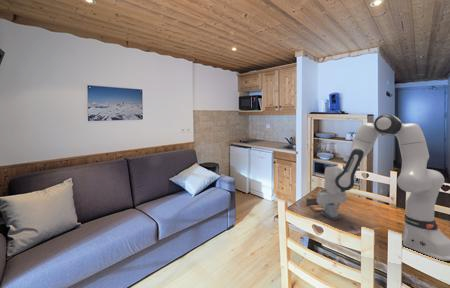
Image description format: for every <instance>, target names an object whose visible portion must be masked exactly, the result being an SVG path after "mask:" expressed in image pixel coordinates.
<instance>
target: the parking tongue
mask: <svg viewBox="0 0 450 288" xmlns="http://www.w3.org/2000/svg"><path fill="white" fill-rule="evenodd" d="M319 215H322V216H324V217H325V218H327V219H328V220H330V221H339V220H342V216H338V217H330V216H328V215H327V214H325V211H320V212H319Z"/></svg>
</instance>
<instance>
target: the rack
mask: <svg viewBox="0 0 450 288" xmlns="http://www.w3.org/2000/svg"><path fill="white" fill-rule="evenodd" d="M305 201H306V205H307V206H306V205H305V206H306V207H307V208H309V207H310V208H311V209H310V208H309V209H310V210H312V211H313V210H314V211H313V212H314V213H316V212H318V213H320V211H325V210H323V206H322V205H319V204H318V203H317V197H314V198H313V197H312V198H306V200H305ZM312 205H319V206H312Z"/></svg>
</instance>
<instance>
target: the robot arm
mask: <svg viewBox="0 0 450 288" xmlns="http://www.w3.org/2000/svg"><path fill="white" fill-rule="evenodd" d="M380 136H395V138H396V139H397V142H398V146H399V147H398V148H399V150H400V152H399V153H400V155H401V170H400V174H399V176H397V179H396V182H397V185H398V188H400V190H402V191H404V192H407V193H410V194H409V196H408V197H407V199H406V201H405V214H404V220H403V221H404V223H405V224H404V229H403V233H402V236H403V242H402V245H403V246H404V247H406V248H408V249H411V250H414V251H416V252H418V253H421V254H423V255H426V256H428V257H431V258H433V259H435V258H436V260H438V259H439V261H444V262H445V261H448V262H449V261H450V238H449V237H447V236H446V235H445V234H444V233H443V232H442V231H441V230H440V229H439V228H438V227H440V226H441V223H437V221H436V220H435V206H436V203H437V198H438V196H439V193H440V190H441V188H442V186H443V185H444V184H445V177H444V175H443V174H442V173H441V172H440V171H438V170H436V169H435V170H434V169H429V168H427V164H428V161H429V159H430V154H429V153H430V152H429V149H428V145H427V141H426V138H425V134H424V132H423V130H422V129H421V127H420V125H419V124H418V123H413V122H412V123H411V122H408V123H403V121H402V120H401V119H400V118H399V117H397V116H396V115H392V114H387V113H386V114H381V115H379V116H377V117H376V118H375V119H374V121H373V122H363V123H362V124H361V125H360V127H359V128H358V129H357V132H356V133H355V135H354V137H353V139H352V143H351V147H350V151H349V156H348V159H347V162H346V164H345V166H344V167H343V168H342V167H341V166H339V165H338V164H329V165H327V166H326V167H325V168H324V178H323V179H324V183H323V185H324V186H323V189H319V190H318V191H317V195H316V198H317V203H318V205H319V206H321V207H323V210H327V208H326V207H325V205H326V204H331V203H334V204H336V205H337V206H338V210H340V206H341V205H342V203H346V201H347V193H346V192H347V191H350V190H352V189H353V188H354V186H355V185H354V184H355V183H356V181H357V178H356V177H357V176H356V172H357V171H358V169H359V166H360V164H361V163H362V161H363V160H364V159H365V158H366V157H367V156H368V154H369V153H370V152H371V151H372V149H373V148H374V145H375V143H376V141H377V140H378V138H379V137H380Z"/></svg>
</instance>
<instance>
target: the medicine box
mask: <svg viewBox="0 0 450 288" xmlns="http://www.w3.org/2000/svg"><path fill="white" fill-rule="evenodd" d="M325 207H326V208H327V210H325V214H327V215H328V216H330V217H339V212H338V210H339V209H338V206H337V203H331V204H326V205H325Z"/></svg>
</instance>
